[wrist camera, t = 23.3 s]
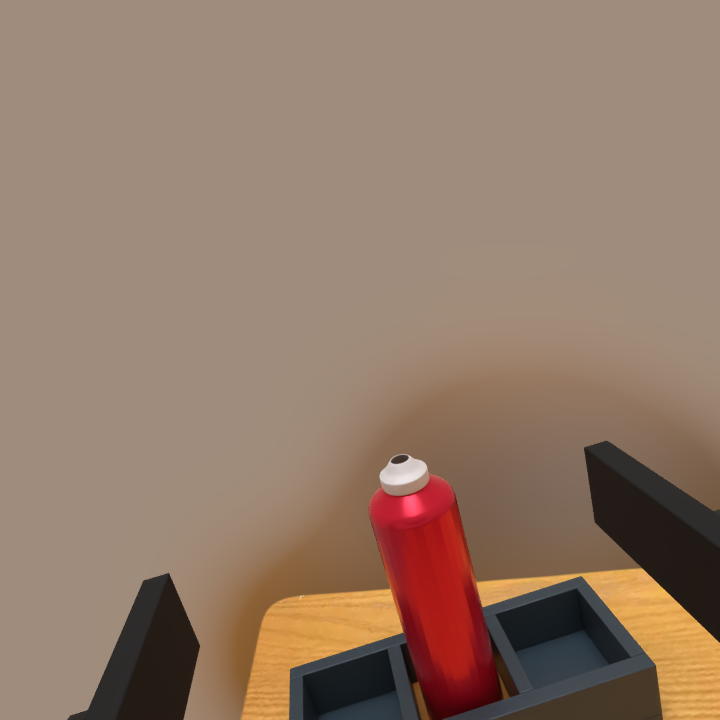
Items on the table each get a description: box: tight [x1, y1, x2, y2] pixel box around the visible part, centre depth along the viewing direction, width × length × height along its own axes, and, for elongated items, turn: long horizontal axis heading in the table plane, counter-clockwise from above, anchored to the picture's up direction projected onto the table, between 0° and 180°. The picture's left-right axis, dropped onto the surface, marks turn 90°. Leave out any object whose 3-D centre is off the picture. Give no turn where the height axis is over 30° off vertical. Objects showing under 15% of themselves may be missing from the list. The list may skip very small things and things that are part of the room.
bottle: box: [369, 454, 504, 720], centre depth 33 cm, size 5×6×20 cm
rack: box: [289, 576, 663, 720], centre depth 35 cm, size 8×24×5 cm, turn 97°
